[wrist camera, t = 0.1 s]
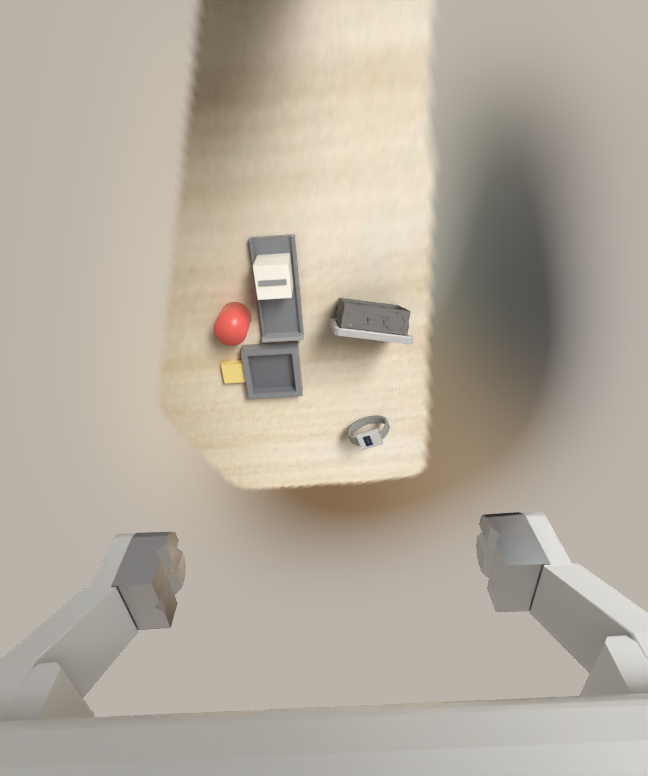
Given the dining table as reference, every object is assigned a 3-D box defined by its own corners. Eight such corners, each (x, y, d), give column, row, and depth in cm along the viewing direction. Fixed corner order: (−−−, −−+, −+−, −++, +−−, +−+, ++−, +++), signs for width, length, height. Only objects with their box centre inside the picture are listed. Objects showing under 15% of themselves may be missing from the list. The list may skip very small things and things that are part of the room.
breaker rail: (249, 237, 55) (247, 241, 53) (294, 234, 55) (293, 238, 53) (263, 335, 62) (262, 342, 60) (303, 333, 62) (303, 340, 60)
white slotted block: (257, 254, 55) (252, 266, 51) (290, 252, 55) (288, 264, 51) (261, 286, 58) (257, 300, 54) (293, 284, 57) (291, 298, 53)
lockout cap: (218, 303, 59) (211, 316, 55) (248, 301, 59) (244, 314, 55) (223, 331, 61) (217, 346, 58) (253, 329, 61) (248, 344, 57)
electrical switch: (328, 323, 61) (331, 349, 53) (334, 285, 59) (338, 305, 50) (397, 331, 62) (410, 358, 53) (405, 294, 59) (420, 316, 51)
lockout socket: (219, 346, 62) (216, 352, 61) (297, 341, 62) (297, 347, 61) (228, 393, 66) (226, 400, 65) (302, 389, 66) (302, 395, 65)
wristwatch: (383, 406, 68) (388, 427, 64) (389, 420, 70) (393, 441, 65) (344, 419, 69) (346, 439, 65) (350, 432, 71) (352, 453, 66)
